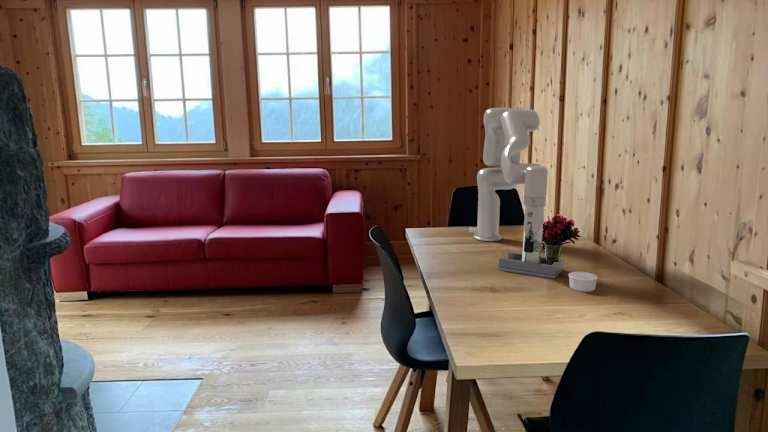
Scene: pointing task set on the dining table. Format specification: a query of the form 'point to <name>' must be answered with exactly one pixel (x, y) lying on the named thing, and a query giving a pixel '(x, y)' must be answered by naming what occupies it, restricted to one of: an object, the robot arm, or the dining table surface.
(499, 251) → the dining table surface
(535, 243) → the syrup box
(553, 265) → the track
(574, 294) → the dining table surface
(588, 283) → the ramekin
